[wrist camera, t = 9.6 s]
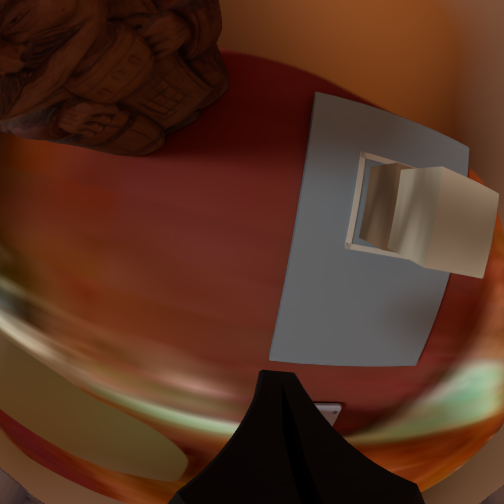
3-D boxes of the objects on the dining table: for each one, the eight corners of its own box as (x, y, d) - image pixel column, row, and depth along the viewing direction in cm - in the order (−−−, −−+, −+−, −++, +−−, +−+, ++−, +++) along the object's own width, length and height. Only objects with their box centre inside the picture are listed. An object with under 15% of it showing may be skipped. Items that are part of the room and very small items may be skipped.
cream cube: (443, 259, 14) (482, 278, 10) (387, 248, 14) (424, 267, 10) (456, 190, 13) (499, 193, 9) (401, 169, 13) (442, 166, 9)
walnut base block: (415, 248, 18) (444, 262, 14) (358, 237, 18) (382, 250, 14) (426, 184, 17) (458, 185, 13) (370, 166, 17) (397, 162, 13)
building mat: (412, 360, 21) (416, 365, 20) (269, 354, 21) (269, 360, 20) (463, 148, 17) (469, 147, 16) (313, 95, 17) (316, 91, 16)
